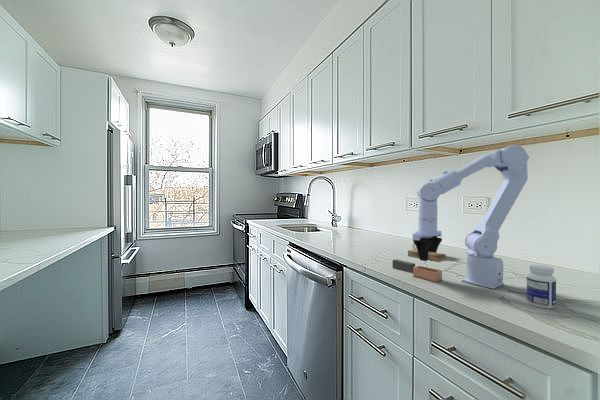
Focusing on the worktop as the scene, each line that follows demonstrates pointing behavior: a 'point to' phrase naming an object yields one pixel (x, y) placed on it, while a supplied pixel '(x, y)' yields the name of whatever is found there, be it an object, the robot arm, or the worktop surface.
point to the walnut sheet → (431, 255)
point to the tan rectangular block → (427, 274)
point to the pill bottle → (541, 287)
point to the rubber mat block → (403, 265)
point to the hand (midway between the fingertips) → (427, 259)
